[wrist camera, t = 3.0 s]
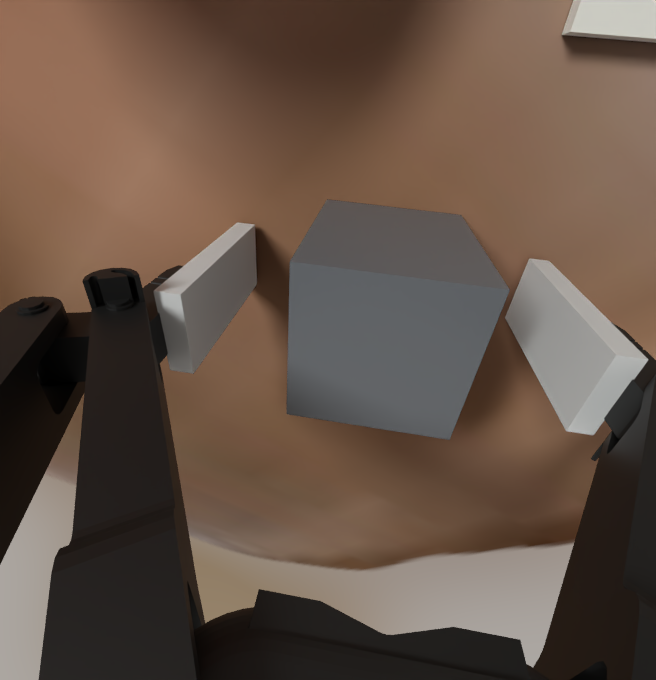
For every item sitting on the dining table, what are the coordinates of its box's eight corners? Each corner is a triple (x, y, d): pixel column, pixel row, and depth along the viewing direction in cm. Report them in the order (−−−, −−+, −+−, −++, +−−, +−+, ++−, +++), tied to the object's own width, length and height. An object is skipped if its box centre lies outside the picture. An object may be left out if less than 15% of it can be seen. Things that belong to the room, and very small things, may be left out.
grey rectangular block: (318, 314, 17) (286, 414, 12) (327, 199, 14) (289, 261, 9) (428, 329, 17) (449, 440, 11) (461, 214, 14) (509, 289, 8)
